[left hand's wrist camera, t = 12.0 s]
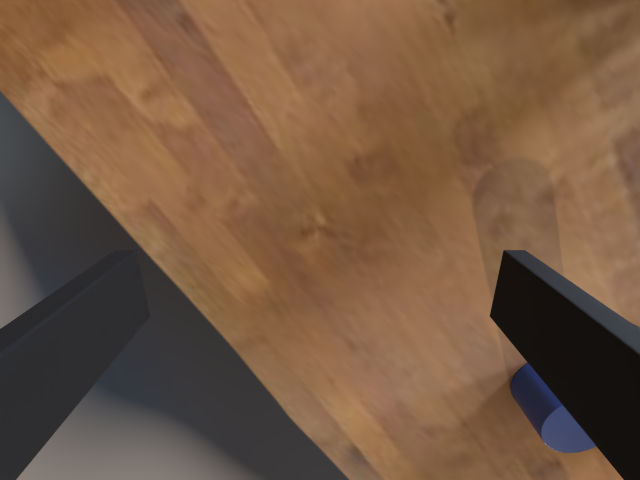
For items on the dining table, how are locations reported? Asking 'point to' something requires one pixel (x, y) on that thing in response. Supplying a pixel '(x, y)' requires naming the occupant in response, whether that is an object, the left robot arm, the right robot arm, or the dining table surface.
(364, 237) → the dining table surface
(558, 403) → the cylinder
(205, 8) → the dining table surface
